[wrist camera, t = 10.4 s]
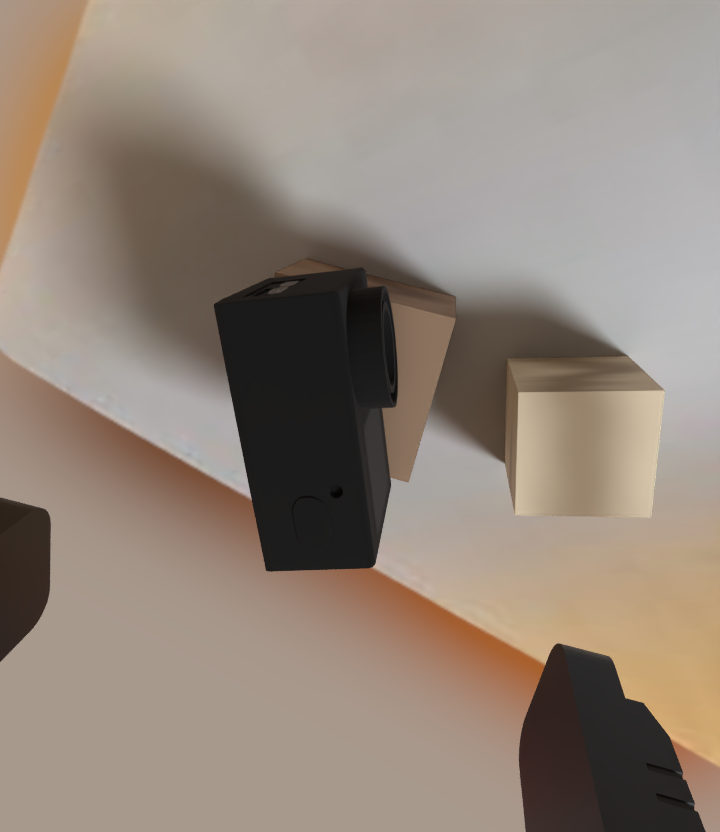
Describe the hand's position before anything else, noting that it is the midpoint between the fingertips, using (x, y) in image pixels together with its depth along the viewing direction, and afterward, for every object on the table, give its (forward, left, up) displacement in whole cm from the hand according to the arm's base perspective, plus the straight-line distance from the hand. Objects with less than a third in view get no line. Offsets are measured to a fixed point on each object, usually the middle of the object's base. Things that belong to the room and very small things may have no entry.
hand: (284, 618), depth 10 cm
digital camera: (+2, +3, -19) cm, 19 cm away
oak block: (-10, +3, -25) cm, 27 cm away
